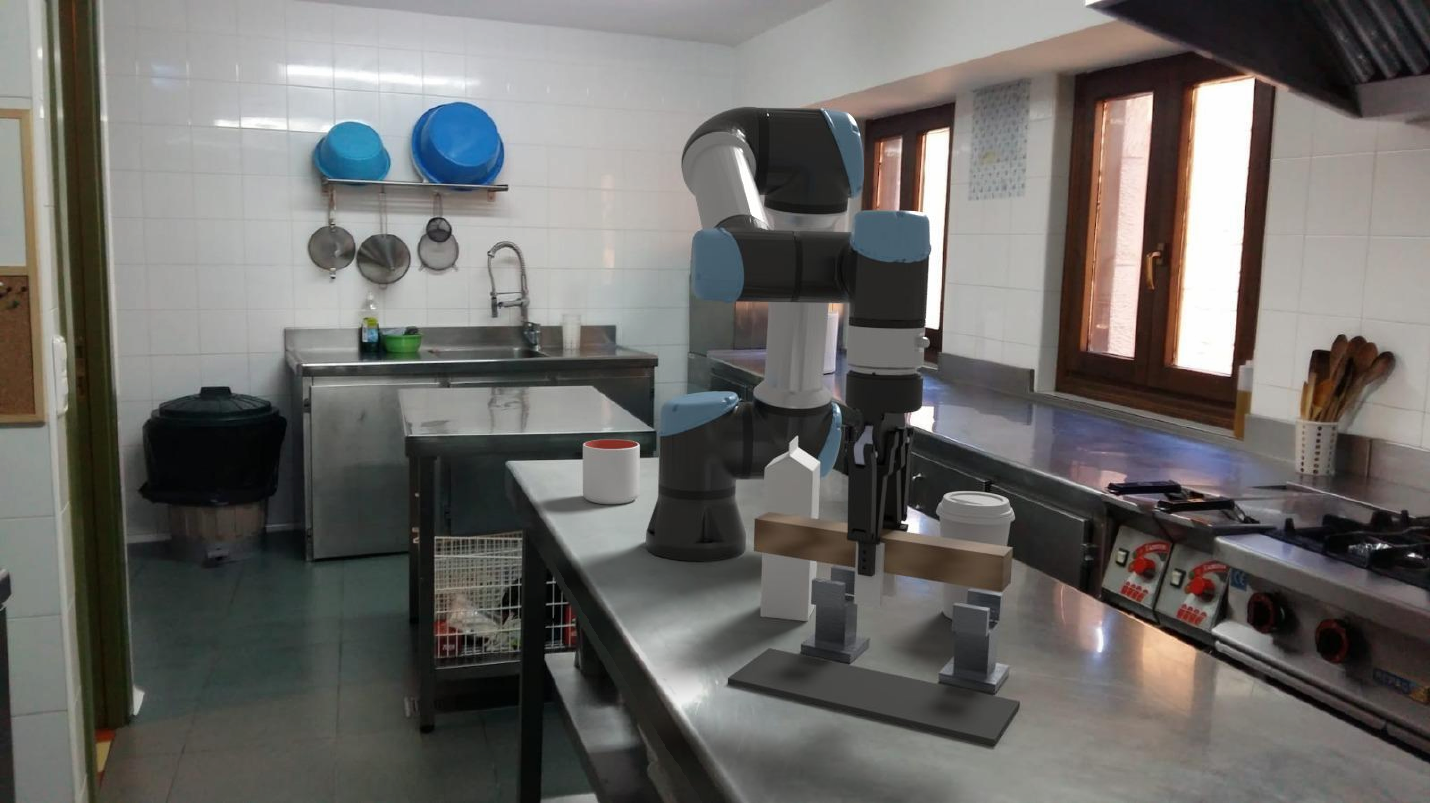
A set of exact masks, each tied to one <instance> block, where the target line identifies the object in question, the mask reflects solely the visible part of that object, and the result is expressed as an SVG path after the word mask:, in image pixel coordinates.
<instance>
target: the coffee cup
mask: <svg viewBox="0 0 1430 803" xmlns="http://www.w3.org/2000/svg"><path fill="white" fill-rule="evenodd" d="M935 513H936V515H937V516H938V517H939V529H940V530H939V531H940V537H945V538H952V539H959V540H965V541H972V542H979V543H986V544H993V545H1000V546H1007V547H1008V540H1009V535H1010V529H1011V528H1010V527H1011V523H1012V522H1013V521H1014V520H1016V516H1015V512H1014V510H1013V507H1011V504H1010V500H1009V499H1008V498H1007V497H1005V496H1003V495H999V494H997V493H996V494H995V493H991V492H984V491H971V490H969V491H967V490H961V491H959V490H958V491H952V492H947V493H945V494H944V495H943V497H942V499H941V502H939V503H938V505H937V507H936V511H935ZM941 584H942V586H941V587H942V588H941V589H942V612H943V615H944V616H945V617H946V618H949V619H951V620H952V615H953V604H954V603H955V602H957V603H963V604H967V595H968V590H969V589H970V588H973V589H979V590H985V591H991V592H997V593H1001V592H998V591H992V590H986V589H980V588H974V587H968V586H962V585H956V584H950V583H944V582H941ZM989 621H992V622H994V620H990V619H989Z"/></svg>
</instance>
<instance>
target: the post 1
mask: <svg viewBox="0 0 1430 803" xmlns="http://www.w3.org/2000/svg"><path fill="white" fill-rule="evenodd" d="M854 587H855V568H853V567H847V566H841V565H835V564H833V565H832V566H831V567H830V579H825V578H820V577H816V578H814V579H812V590H811V604H813V605H815V624H814V625H815V626H814V627H815V628H814V629H815V630H814V634H812V635H811V636H810V637H808V638H807V639H805V640H804V641H803V642H802V643H800V653H801V654H805V655H810V656H813V657H819V658H824V659H830V660H833V661H838V662H844V663H848V664H851V663H852V662H853V661H855V659H857V658H858V657H859V656H860V655H861V654H862V653H864V651H866V650H867V649H868V648H869V647H870V644H871V643H870V639H871V638H870V637H867V636H862V635H857V631H858V630H857V628H858V627H857V626H858V624H857V623H858V604H854Z"/></svg>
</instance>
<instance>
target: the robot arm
mask: <svg viewBox="0 0 1430 803" xmlns="http://www.w3.org/2000/svg"><path fill="white" fill-rule="evenodd" d="M864 160H865V159H864V151H863V142H862V137H861V134H860V130H859V127H858V123H857V122H856V120H855V119H854V117H853V116H852V115H851V114H849V113H848V112H846V111H841V110H835V109H826V108H813V107H811V108H810V107H809V108H803V107H801V108H800V107H799V108H797V107H796V108H795V107H791V108H790V107H787V108H786V107H756V106H741V107H735V108H731V109H728V110H726V111H721V112H720V113H717V114H715V115H714V116H712V117H710V118H709V119H707V120H706V121H704V122H702V124H701V125H699V126H698V127H697V128H696V129H695V130H694V131H693V133H691V135H690V136H689V138H688V139H687V141H686V143H685V144H684V147H683V151H682V154H681V162H680V163H681V165H680V166H681V173H682V178H683V181H684V184H685V185H686V187H687V189H688V191H689V192H691V194H692V195H693V196H694V197H695V201H696V206H697V210H698V215H699V220H700V225H701V229H700V230H698V231H696V233H695V234H694V235H693V237H692V242H691V251H690V253H691V254H690V277H691V279H690V280H691V291H692V294H694V296H695V297H696V298H697V299H699V300H702V301H715V302H723V303H725V304H733V303H768V313H767V334H766V351H765V364H764V366H765V367H764V379H763V380H762V381H761V382H760V383H758V384H757V385H756V386H755V387H753V388H754V389H753V395H752V401H740V398H739V396H738V394H737V393H736V392H734V391H728V390H727V391H726V390H724V391H718V390H716V391H715V390H713V391H702V392H695V393H688V394H684V395H679V396H676V397H673V398H671V399H668V400H666V401H665V402H664V403H663V405H661V408H660V411H659V423H658V430H657V435H658V437H659V438H658V440H659V441H658V475H657V476H658V484H657V485H658V487H657V488H658V490H657V499H656V502H655V504H654V507H653V511H652V514H651V517H650V519H649V523H648V525H647V529H646V533H645V548H646V550H647V551H648V552H650V553H651V554H653V555H656V556H657V557H658V556H660V557H663V558H666V559H672V560H679V561H688V562H689V561H692V562H693V561H695V562H698V561H699V562H700V561H701V562H703V561H704V562H705V561H718V560H725V559H729V558H733V557H736V556H739V555H741V554H742V553H744V552H745V551H746V549H747V534H746V533H747V532H746V530H745V526H744V522H743V519H742V516H741V512H740V509H739V506H738V502H737V498H736V496H737V495H736V494H737V492H736V491H737V490H736V488H737V485H736V484H737V481H741V480H742V481H743V480H744V481H746V480H752V481H754V480H762V481H764V474H765V467H766V466H767V465H768V464H769V463H770V462H771V461H772V460H773V459H775V458H776V457H778V456H780V455H782V454H784V453H786V452H788V451H789V443H790V442H791V441H792V440H793V439H794V438H795V437H796V436H798V447H799V448H800V449H802V450H803V451H805V452H806V453H808V454H809V455H811V456H812V457H814V458H815V459H817V460H818V461H819V462H820V479H822V478H824V477H826V476H827V475H828V474H829V473H830V472H831V471H832V469H833V468H834V466H835V464H836V461H837V458H838V456H839V450H840V447H841V446H840V445H841V441H842V429H841V428H842V424H843V423H842V422H843V420H842V412H841V411H842V410H841V408H840V406H839V405H838V404H837V403H835V402H834V401H832V398H833V395H832V392H831V391H830V390H829V389H828V388H827V387H826V386H825V384H824V383H823V382H824V381H823V380H824V371H825V370H824V369H825V357H826V355H825V354H826V342H827V333H828V320H829V319H828V318H829V308H830V307H829V306H830V304H848V305H849V306H848V307H849V309H848V310H849V312H848V314H849V315H848V324H847V339H846V340H847V342H846V357H845V359H846V360H845V361H846V364H848V366H851V368H852V369H850V370H848V372H847V373H846V375H845V376H846V377H845V378H846V379H845V405H846V407H848V408H849V409H851V410H854V411H859V413H860V414H861V417H860V422H859V427H858V429H857V432H856V441H855V442H854V441H848V442H847V444H846V447H845V448H846V458H847V459H846V460H847V465H848V470H847V471H848V473H847V483H848V484H847V485H848V486H847V523H848V532H847V540H849V541H856V562H855V568H854V569H855V587H854V595H853V596H854V604H858V605H859V606H864V607H870V608H876V609H881V608H882V607H883V596H887V597H892V598H895V597H896V595H897V582H898V581H897V580H898V575H895V574H889V573H884V550H885V543H883V542H881V536H882V528H883V529H890V530H897V531H904V532H908V530H909V523H903V522H906V521H907V519H908V508H909V492H910V490H909V489H910V479H911V478H910V474H911V464H912V463H911V460H912V447H913V442H914V437H915V433H916V432H915V427H914V426H906V417H905V414H911V413H914V412H918V411H919V410H921V408H922V406H923V393H924V392H923V391H924V376H923V375H922V373H921V372H919V371H918V369H920V368H922V367H923V366H924V363H925V349H926V348H928V347H929V346H930V343H931V342H930V339H929V338H928V337H926V336H925V335H926V325H927V324H926V322H927V321H926V319H927V304H928V290H929V289H928V287H929V286H928V285H929V271H930V270H929V269H930V268H929V266H930V255H931V253H932V244H931V239H930V238H931V237H930V236H931V234H930V228H931V226H930V220H929V217H928V216H927V214H925V213H923V212H921V211H918V210H917V211H915V210H891V209H890V210H887V209H886V210H883V209H881V210H880V209H878V210H877V209H875V210H873V209H872V210H871V209H870V210H861V211H858V212H857V213H855V215H854V217H853V218H852V225H851V231H835V229H836V224H837V222H838V221H839V220H840V219H841V218H842V217H843V216H844V215H846V214H847V213H848V207H849V206H848V204H849V199H853V200H854V198H858V197H859V196H860V195H861V194H862V190H863V184H864V179H865V170H864V169H865V166H864V164H865V162H864ZM761 196H764V197H763V199H764V201H762V199H761ZM767 213H768V214H769V215H770V217H772V219H773V229H772V227H771V224H770V222H769V218H768V216H767Z"/></svg>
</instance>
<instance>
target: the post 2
mask: <svg viewBox="0 0 1430 803" xmlns="http://www.w3.org/2000/svg"><path fill="white" fill-rule="evenodd" d="M1003 598H1004V593H1003V592H1000V593H997V592H991V591H985V590H979V589H973V588H970V589H969V590H968V595H967V604H963V603H957V602H955V603H954V604H953V615H952V619H951V631H952V632H955V633H954V650H953V656H952V657H951V658H950V660H949V661H948V662H947V663H946V664H945V665H944V666H943V668H942V669H941V670H940V671H939V672H938V683H942V684H946V685H947V684H948V685H950V686H951V685H952V686H957V687H960V688H961V687H962V688H965V689H966V688H967V689H970V690H971V689H972V690H975V691H981V692H983V693H984V692H986V693H990V694H994V695H996V693H997V692H998V690H999V689H1000V688H1001V686H1002V684H1003V683H1004V682H1005V680H1006V679H1007V678H1008V676H1010V665H1008V664H1003V663H998V662H997V648H998V647H997V646H998V634H999V632H998V630H999V622H1000V621H1001V620H1002V617H1003V602H1004V600H1003ZM989 619H990V620H993V621H989ZM997 621H998V622H997Z"/></svg>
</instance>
